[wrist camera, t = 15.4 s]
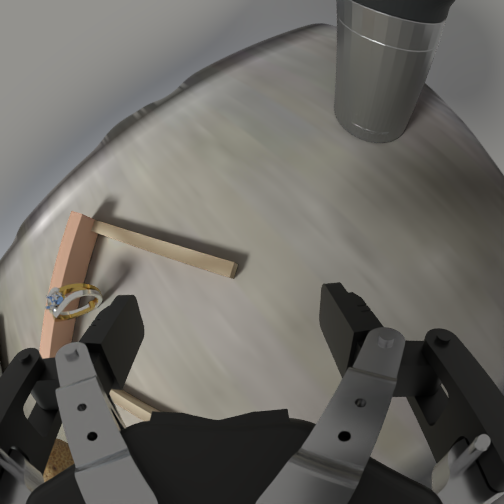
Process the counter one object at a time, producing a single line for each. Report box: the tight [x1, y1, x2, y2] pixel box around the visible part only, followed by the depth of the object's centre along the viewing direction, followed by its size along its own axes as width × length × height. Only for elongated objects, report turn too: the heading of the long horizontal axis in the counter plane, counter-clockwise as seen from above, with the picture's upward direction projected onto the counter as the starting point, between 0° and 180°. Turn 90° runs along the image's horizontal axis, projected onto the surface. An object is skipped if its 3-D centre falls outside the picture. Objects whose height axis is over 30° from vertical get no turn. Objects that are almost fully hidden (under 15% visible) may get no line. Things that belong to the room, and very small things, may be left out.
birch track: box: [91, 220, 238, 421], centre depth 29 cm, size 20×20×2 cm
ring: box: [45, 283, 102, 322], centre depth 27 cm, size 7×3×8 cm, turn 118°
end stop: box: [39, 211, 98, 359], centre depth 30 cm, size 20×2×4 cm, turn 163°
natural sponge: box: [43, 439, 74, 482], centre depth 23 cm, size 9×9×10 cm
